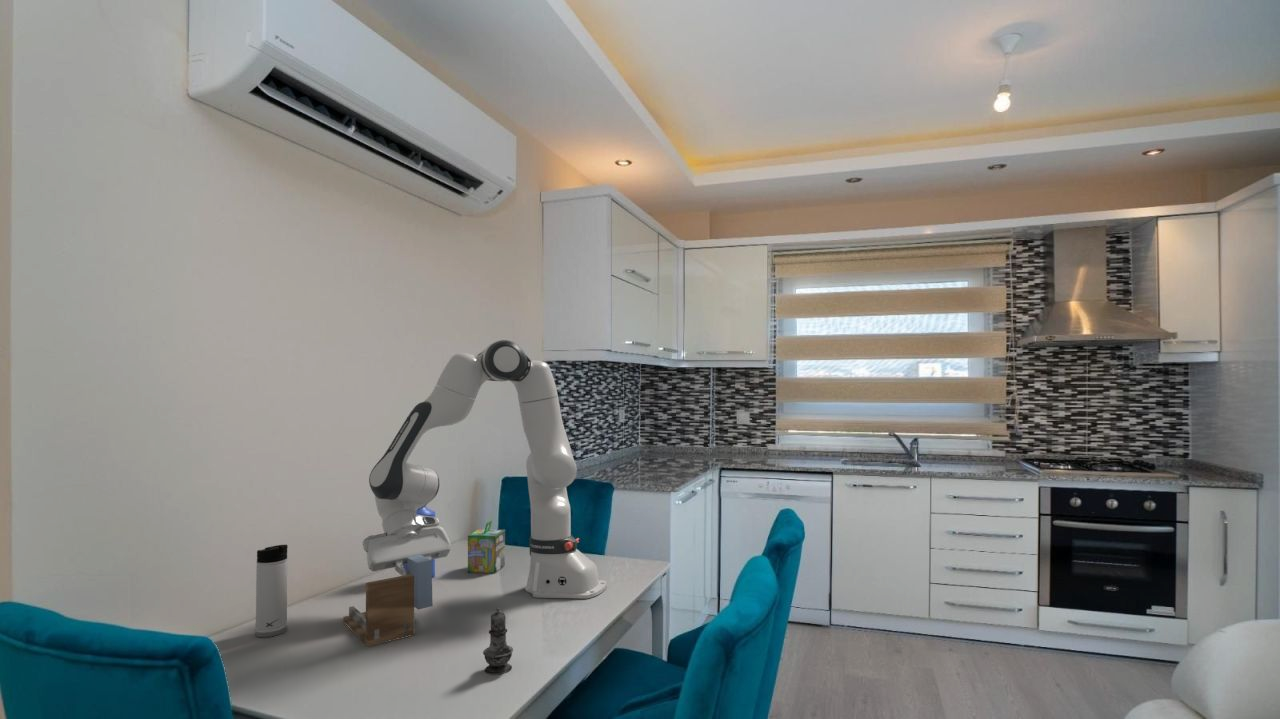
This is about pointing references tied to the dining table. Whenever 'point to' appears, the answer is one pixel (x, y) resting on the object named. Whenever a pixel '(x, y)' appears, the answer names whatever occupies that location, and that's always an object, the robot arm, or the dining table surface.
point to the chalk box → (486, 550)
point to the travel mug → (271, 591)
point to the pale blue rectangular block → (421, 580)
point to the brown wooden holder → (385, 611)
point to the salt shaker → (498, 646)
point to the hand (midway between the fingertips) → (417, 576)
